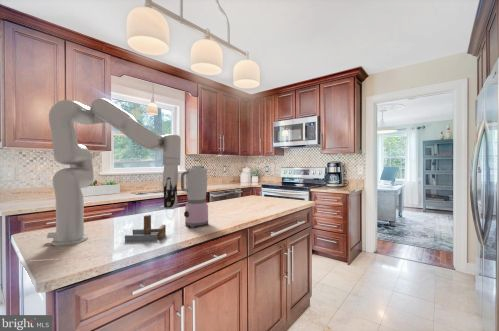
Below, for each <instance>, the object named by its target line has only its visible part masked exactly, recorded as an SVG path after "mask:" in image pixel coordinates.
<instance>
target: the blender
mask: <svg viewBox="0 0 499 331" xmlns="http://www.w3.org/2000/svg"><path fill="white" fill-rule="evenodd" d="M207 172H208V171H207V168H204V167H202V165H192V166H191V168H189V167H188V168H186V169H185V171H184V172H182V173H181V175H180V188H181V189H180V190H181V191H182V192H186V195H187V201H186V204H185V205H184V206H185V207H184V210H185V211H184V213H183V215H184V217H185V222H184V223H185V226H190V228H192V229H195V227H196V226H203V225H207V226H208V225H209V206H208V205H209V204H208V203H207V200H206V198H207V192H208V173H207Z"/></svg>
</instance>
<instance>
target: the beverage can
mask: <svg viewBox="0 0 499 331" xmlns="http://www.w3.org/2000/svg"><path fill="white" fill-rule="evenodd" d="M166 188H167V183H166V185H165V188H163V208H164V209H165V210H175V209H176V208H178V184H177V185H175V187H174V188H173V195H172V200H171V202H168V195H166ZM170 188H172V186H170ZM171 191H172V189H171ZM169 198H170V197H169ZM169 201H170V199H169Z"/></svg>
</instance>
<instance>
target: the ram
mask: <svg viewBox="0 0 499 331" xmlns="http://www.w3.org/2000/svg"><path fill="white" fill-rule="evenodd" d="M166 225H167V224H161V226H160V227H159V228H157V229H158V232H151V229H152V214H144V215H143V229H144V234H157V241H158V240H159V241H160V240H161V241H162V240H163V239H164V237H165V236H166V234H167V233H166V230H167V229H166Z"/></svg>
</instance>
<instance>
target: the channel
mask: <svg viewBox="0 0 499 331" xmlns="http://www.w3.org/2000/svg"><path fill="white" fill-rule="evenodd" d="M158 229H159V228H151V232H158ZM134 242H135V243H137V242H143V243H144V242H158V237H157V234H144V228H139V229H138V228H136V229H134V228H133V229H132V234H125V235H124V243H134Z"/></svg>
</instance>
